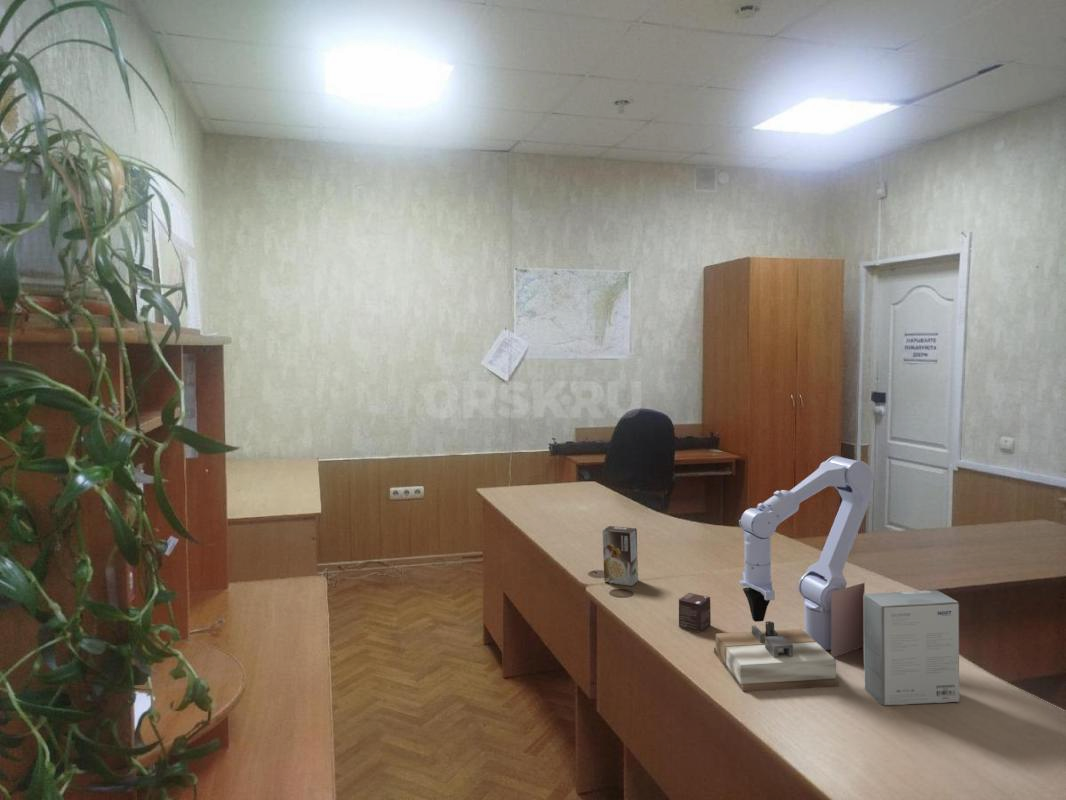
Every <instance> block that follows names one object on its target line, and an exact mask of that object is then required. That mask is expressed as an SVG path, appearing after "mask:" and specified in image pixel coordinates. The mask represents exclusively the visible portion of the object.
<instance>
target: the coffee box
mask: <svg viewBox="0 0 1066 800" xmlns="http://www.w3.org/2000/svg"><path fill="white" fill-rule="evenodd" d="M637 529H638V528H635V527H625V526H613V525H609V526H607V527H606V528H604V529H603V530H602V552H603V553H602V554H603V582H604V581H605V582H609V583H608V584H613V583H614V584H615V585H622V586H630V587H632V586H634V585H635V584H636V583H637V582H639V571H638V570H639V569H638V566H639V565H638V562H639V561H638V540H637V539H638V536H637V535H638V532H637ZM605 582H604V583H605Z"/></svg>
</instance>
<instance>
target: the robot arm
mask: <svg viewBox="0 0 1066 800" xmlns="http://www.w3.org/2000/svg"><path fill="white" fill-rule="evenodd" d="M874 479H875V475H874V472H873V471H872V468H871V467H870V465H869V464H868V463H866V462H865V461H862V460H855V459H850V458H847V457H846V458H845V457H842V456H840V455H833V456H830V457H829V458H827V460H824V461H823V462H821V463H820V464H819V467H818V468H817V469H816V470H814V471H813V472H812V473H811V474H809V475H808V476H807V477H806V478H804V479H803V480H802V481H800V482H799V483H798V484H797V485H795V486H794V487H793V488H791V489H789V490H786V489H781V490H776V491H774V492H773V496H771V497H769V498H767V500H764V501H763V502H759V503H757V506H756V507H753V508H752V507H749V508H748V509H746V510H745V511H744V512H743V513H742V514H741V517H740V519H739V520H738V524H739V527H740V528H741V530H742V532H743V539H744V540H743V541H744V542H743V543H744V548H743V550H744V571H742V578H741V579H742V580H739V585H740V586H742V587H743V589H742V591H743V594H745V597H746V599H747V602H748V606H749V610H750V615H751V618H752V620H753V621H754V622H757V623H758V622H764V621H765V617H766V614H767V610H768V606H769V605H770V602H771V601H775V596H776V595H775V593H776V592H775V590H774V589H773V581H772V557H771V556H772V553H771V551H772V547H771V545H772V544H771V542H772V541H771V537H772V536H773V535H774V534H775V532H776V530H777V527H778V526H779V525H780V524H782V522H784V521H785V520H786V519H788V518H790V517H791V516H793V514H796V513H797V512H798V511H799V508H800V504H801V503H802V502H804V501H806V500H807V499H809V498H810V497H812V496H814V495H816V494H818V493H819V492H821V491H822V490H824V489H825V488H828V487H834V488H835V489H836V490H837V492H838V493H839V495H840V497H841V500H842V501H841V503H840V505H839V509H838V512H837V514H836V516H835V518H834V521H833V523H832V525H831V529H830V532H829V533H828V535H827V538H826V541H825V544H824V546H823V548H822V551H821V553H820V555H819V558H818V561H816V562H814V563H812V564H811V565H809V566H808V568H807V570H806V571H805V573H804V574H803V575H802V576H801V578H800V579H799V581H798V583H797V584H798V585H797V588H798V589H797V590H798V592H799V594H800V595H801V596H802V597H803V603H804V632H805V633H807V634H808V635H809V636H810V637H811V638H812V639H813V640H814V641H815V642H817V643H818V644H819V645H820V646H821V647H822V648H823V649H824V650H825V651H827V650H828V651H831V592H833V591H837V590H840V589H844V588H847V585H848V583H847V580H846V578H845V576H844V573H843V571H844V568H845V565H846V562H847V560H848V559H849V555H850V553H851V551H852V548H853V545H854V542H855V540H856V537H857V535H858V532H859V530H860V527H861V525H862V522H863V520H864V518H865V515H866V512H867V510H868V508H869V505H870V501H871V487H872V484H873V482H874Z"/></svg>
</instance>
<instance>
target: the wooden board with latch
mask: <svg viewBox="0 0 1066 800" xmlns="http://www.w3.org/2000/svg"><path fill="white" fill-rule="evenodd" d="M765 635H766V630H760V629H759V628H758V626H756V625H751V631H738V632H719V633H715V647H713V653H714V654H715V656H716V657H717V658H718V660H719V661H720V663H721V664H722V665H723V666H724V668H725V669H726V670H727V672H728V674H729V675H730V676H731V677H732V679H733V680H734V681H735V682H736V685H738V687H739V688H740V690H741V691H742V692H748V691H749V692H750V691H751V692H752V691H769V690H782V689H783V690H784V689H785V690H786V689H803V688H820V687H822V688H823V687H838V686H839V680H838V679H837V675H836V674H837V673H836V672H837V671H836V670H837V669H836V666H837V665H836V664H837V663H836V661H837V660H836V658H835V657H832V656H831V653H829V652H828V651H827V650H824V649H823V648H822V647H821V646H820V645H819V644H818V643H817V642H815V641H814V640H813V639H812V638H811V637H810V636H809V635H808V634H807V633H805V630H803V629H802V628H795V629H794V628H793V629H792V628H791V629H777V630H775V629H774V636H769V637H765ZM778 649H784V653H778Z"/></svg>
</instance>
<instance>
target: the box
mask: <svg viewBox="0 0 1066 800" xmlns="http://www.w3.org/2000/svg"><path fill="white" fill-rule="evenodd" d="M711 615H712V614H711V597H710V596H707V595H701V594H697V593H692V592H688V593H687V594H685V595H684V596H682V597H680V598H679V599H678V627H679V628H680V629H685V630H688V631H689V630H690V631H693V632H697V633H701V632H703V631H705V630H706V629H707V628H708V627H710V626H711V623H712V622H711Z"/></svg>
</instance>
